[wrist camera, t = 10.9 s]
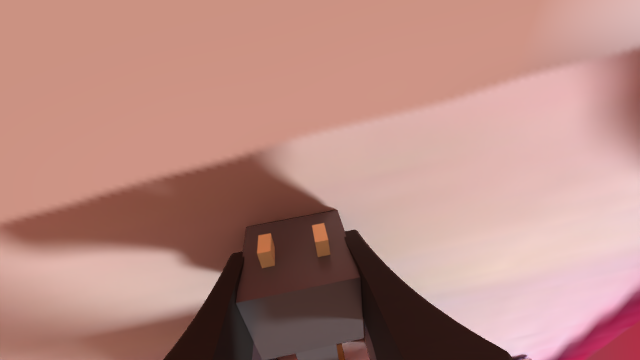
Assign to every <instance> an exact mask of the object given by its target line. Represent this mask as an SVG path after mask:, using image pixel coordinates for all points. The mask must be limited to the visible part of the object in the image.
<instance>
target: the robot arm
mask: <svg viewBox="0 0 640 360" xmlns="http://www.w3.org/2000/svg"><path fill="white" fill-rule="evenodd" d="M345 234H346V237H344V238H345V241H346V244H347V247H348V249H349V251H350V253H351V256H352V258H353V260H354V262H355V264H356V266H357V269H358V271H359V274H360V278H361V295H362V312H363V319H364V322H365V325H366V327H367V330H368V333H369V336H370V339H371V342H372V345H373V348H374V352H375V356H376V359H377V360H514V359H513V358H512V357H511V356H510V354H509V353H508V352H507V351H505V350H503V349H502V348H500V347H498V346H496V345H495V344H493V343H491V342H489V341H487V340H486V339H484V338H482V337H481V336H479V335H477V334H476V333H474V332H472V331H471V330H469V329H468V328H466V327H464V326H463V325H461V324H460V323H458V322H456V321H455V320H454V319H452V318H451V317H449V316H448V315H446V314H445V313H443V312H442V311H441V310H439V309H438V308H436V307H435V306H433V305H432V304H431V303H429V302H428V301H427V300H425V299H424V298H423V297H422V296H420V295H419V294H418V293H417V292H415V291H414V290H413V289H412V288H411V287H409V286H408V285H407V284H406V283H405V282H404V281H403V280H401V279H400V278H399V277H398V276H397V275H396V274H395V273H394V272H393V271H392V270H391V269H390V268H389V267H388V266H387V265H386V264H385V263H384V262H383V261H382V260H381V259H380V258H379V257H378V256H377V255H376V254H375V252H374V251H373V250H372V249H371V248H370V247H369V246H368V244H367V243H366V242H365V241H364V239H363V238H362V237H361V235H360V234H359V233H358V231H356V230H351V231H345ZM242 255H243V252H238V253H233V254H232V255H231V257H230V258H229V260H228V262H227V264H226V266H225V268H224V270H223V272H222V273H221V275H220V277H219V279H218V281H217V282H216V284H215V286H214V288H213V289H212V291H211V293H210V294H209V296H208V298H207V299H206V301H205V303H204V304H203V306H202V307H201V309H200V310H199V312H198V313H197V315H196V316H195V318H194V319H193V321H192V322H191V324H190V325H189V327H188V328H187V330H186V331H185V332H184V334H183V335H182V336H181V338H180V339H179V340H178V342H177V343H176V344H175V346H174V347H173V348H172V349H171V351H170V352H169V353H168V354H167V356H166V357H165V358H164V359H163V360H252V355H253V346H254V341H253V339H252V337H251V335H250V333H249V331H248V328H247V326H246V324H245V322H244V320H243V318H242V316H241V313H240V311H239V309H238V307H237V305H236V297H237V290H238V286H239V282H240V278H241V274H242V270H243V265H244V257H242ZM522 360H532V359H531V358H526V359H522Z"/></svg>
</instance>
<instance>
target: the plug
mask: <svg viewBox="0 0 640 360" xmlns="http://www.w3.org/2000/svg"><path fill="white" fill-rule="evenodd" d="M344 237H346V234H345V231H344V228H343V225H342V222H341V219H340V216H339V213H338V211H337V210H335V211H329V212H324V213H319V214H313V215H308V216H303V217H298V218H292V219H287V220H282V221H276V222H271V223H266V224H260V225H255V226H250V227H246V234H245V241H244V248H243V255H242V257H244V265H243V270H242V274H241V278H240V282H239V286H238V290H237V297H236V305H237V307H238V309H239V311H240V313H241V316H242V318H243V320H244V322H245V324H246V326H247V328H248V331H249V333H250V335H251V337H252V339H253V341H254V344H255V346H256V348H257V350H258V352H259V354H260V356H261V359H262V360H269V359H273V358H278V357H282V356H287V355H291V354H296V356H297V359H298V360H345V357H344V352H343V348H342V344H340V343H345V342H349V341H353V340H358V339H362V338H364V330H363V312H362V295H361V278H360V274H359V271H358V269H357V266H356V264H355V262H354V260H353V258H352V256H351V253H350V251H349V249H348V247H347V244H346V241H345V238H344ZM336 344H340V345H336Z"/></svg>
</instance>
